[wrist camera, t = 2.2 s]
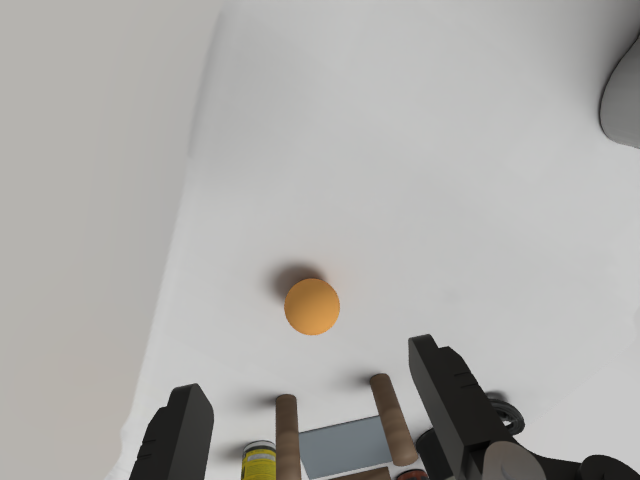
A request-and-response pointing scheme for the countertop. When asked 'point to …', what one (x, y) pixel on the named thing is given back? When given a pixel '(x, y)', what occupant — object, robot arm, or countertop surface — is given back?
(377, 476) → the rail
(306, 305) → the ball
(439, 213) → the countertop surface
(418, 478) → the supplement bottle
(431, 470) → the milk frother
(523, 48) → the countertop surface
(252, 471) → the supplement bottle
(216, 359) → the countertop surface
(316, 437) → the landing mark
